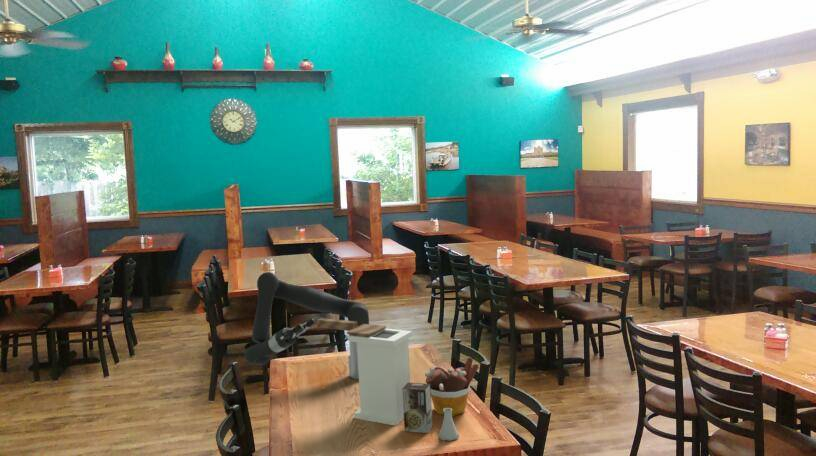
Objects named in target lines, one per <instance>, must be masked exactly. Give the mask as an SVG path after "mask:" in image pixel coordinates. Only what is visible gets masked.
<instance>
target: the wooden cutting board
mask: <svg viewBox="0 0 816 456" xmlns="http://www.w3.org/2000/svg"><path fill="white" fill-rule="evenodd" d="M316 323H317V328H320V329H330V330H331V329H332V330H341V331H346V334H347V335H348V336H349V335H358V336H367V337H370V336H372V335H374V334H376V333H378V332H380V331H382V330H384V329H387V327H386V325H381V324H379V325H378V324H370V323H369V324H362V325H360V326H358V322H356V321H348V320H346V319H345V320H344V319H335V318H327V317H325V318H323V317H321V318H318V319H317V320H316Z"/></svg>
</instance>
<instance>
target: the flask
mask: <svg viewBox="0 0 816 456" xmlns="http://www.w3.org/2000/svg"><path fill="white" fill-rule="evenodd" d="M443 412H444V415H443V421H442V424H441V428H440V431H439V433H438V438H439V439H440V440H441V441H446V440H447V441H449V442H451V441H455V440H458V439H459V437H460V435H459V432H458V430H457V427H456V425H455V423H454V420H453V416H452V409H451V408H445V409H443ZM447 441H446V442H447Z"/></svg>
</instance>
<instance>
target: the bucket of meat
mask: <svg viewBox="0 0 816 456" xmlns="http://www.w3.org/2000/svg"><path fill="white" fill-rule="evenodd" d="M473 361H474V360H473V358H472V357H471V356H470V357H468V358H467V360H466V361H465V363H464V367H463V366H461V367H457V368H454V369H452V368H449V369H448V370H447V369H445V368H444V367H442V366H438V365H435V366H433V365H432V366H430V367H429V371H426V372H425V373H424V376H425V384H430V387H431V403H432V404H433V408H434V411H436V412H437V413H438V415H442V416H444V412H443V409H445V408H451V409H452V417H454V416H458V415H462V414H463V413H464V411H465V409H466V407H467V403H468V398H469V392H470V387H471V382H472V381H473V380H474V378H475V377H474V376H475V375H476V373H477V371H478V369H479V365H478V364H477V363H474V364H473Z"/></svg>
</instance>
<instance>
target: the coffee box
mask: <svg viewBox="0 0 816 456" xmlns="http://www.w3.org/2000/svg"><path fill="white" fill-rule="evenodd" d="M402 395H403V410H404V420H403V424H404V425H403V426H404V432H413V433H424V434H428V433H429V432H430V431H431V429H432V428H433V426H434V425H433V410H432V409H433V408H432V398H431V387H430V384H427V383H421V382H410V383H407V384H406V385H405V386H404V387H403V388H402Z"/></svg>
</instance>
